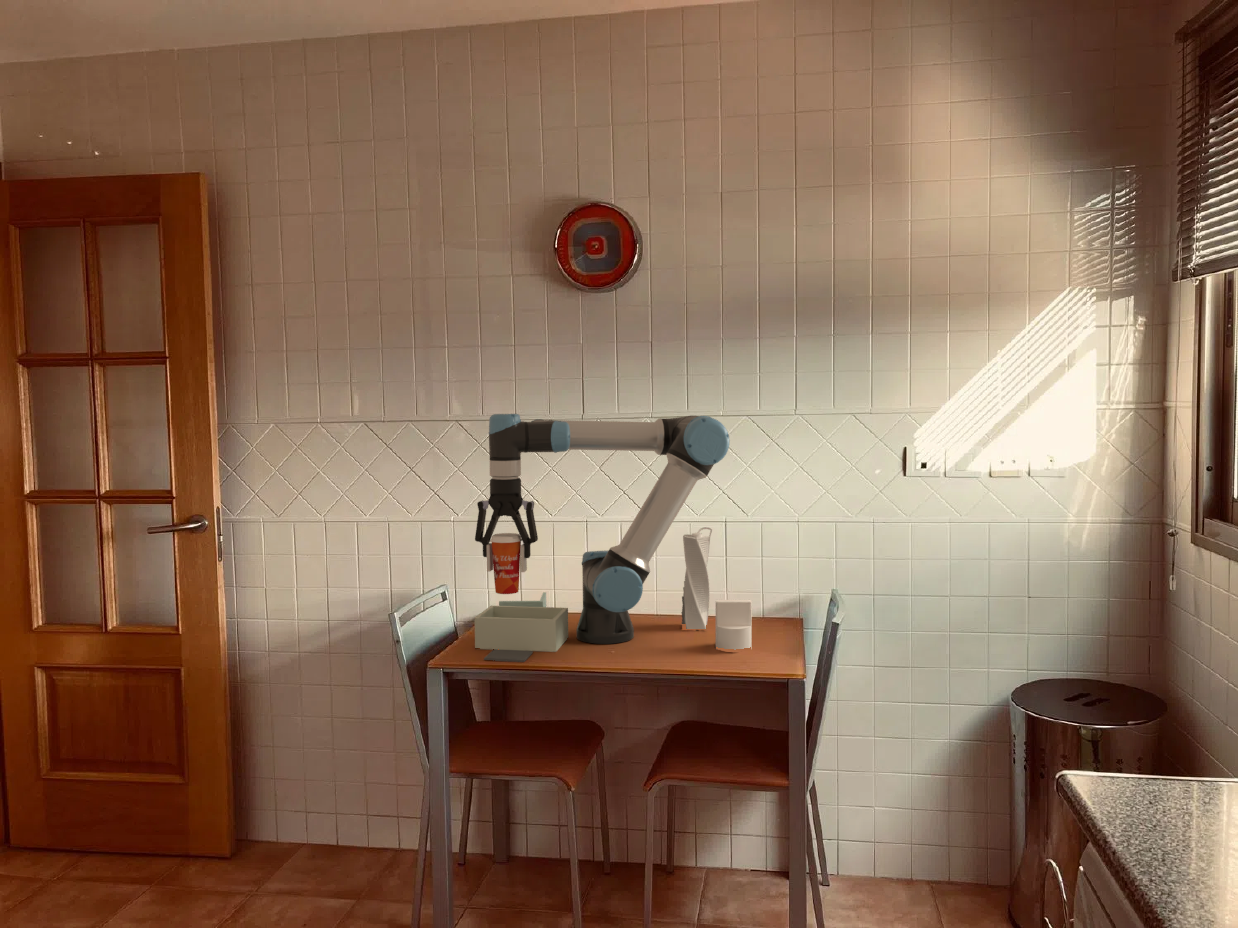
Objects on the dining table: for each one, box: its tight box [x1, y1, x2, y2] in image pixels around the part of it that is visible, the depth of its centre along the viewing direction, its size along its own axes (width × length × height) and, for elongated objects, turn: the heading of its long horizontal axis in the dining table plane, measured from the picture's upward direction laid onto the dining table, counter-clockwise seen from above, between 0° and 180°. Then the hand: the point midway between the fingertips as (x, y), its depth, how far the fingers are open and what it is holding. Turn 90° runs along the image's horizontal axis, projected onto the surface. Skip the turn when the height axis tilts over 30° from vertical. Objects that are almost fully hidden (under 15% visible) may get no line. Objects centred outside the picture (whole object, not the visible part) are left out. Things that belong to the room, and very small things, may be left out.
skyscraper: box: [681, 526, 713, 629], centre depth 263 cm, size 8×8×28 cm
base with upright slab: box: [715, 599, 753, 650], centre depth 243 cm, size 9×9×12 cm
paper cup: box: [490, 532, 523, 595], centre depth 235 cm, size 8×8×14 cm
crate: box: [474, 605, 569, 653], centre depth 249 cm, size 21×14×8 cm, turn 80°
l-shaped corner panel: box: [498, 591, 547, 607], centre depth 271 cm, size 12×12×8 cm
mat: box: [483, 649, 534, 663], centre depth 237 cm, size 10×8×1 cm
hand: (506, 570), depth 235 cm, fingers closed on paper cup, 8 cm apart
